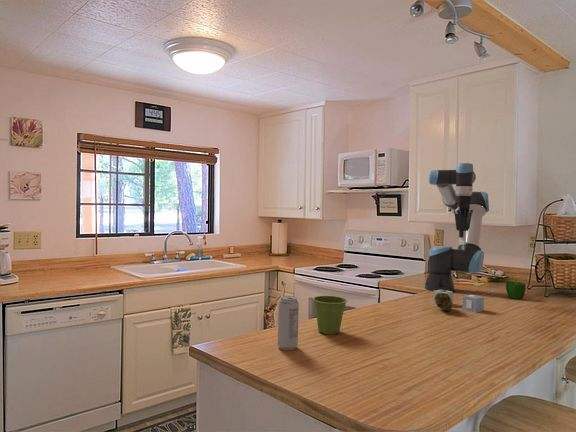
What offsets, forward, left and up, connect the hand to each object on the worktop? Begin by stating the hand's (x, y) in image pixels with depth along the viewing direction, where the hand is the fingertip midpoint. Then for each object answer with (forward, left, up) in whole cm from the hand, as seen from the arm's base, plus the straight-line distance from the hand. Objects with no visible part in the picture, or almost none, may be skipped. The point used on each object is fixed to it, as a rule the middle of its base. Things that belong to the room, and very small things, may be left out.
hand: (462, 244), depth 210 cm
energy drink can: (+15, -115, -27) cm, 119 cm away
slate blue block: (+17, -18, -27) cm, 36 cm away
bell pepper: (+14, +25, -27) cm, 39 cm away
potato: (+11, -30, -27) cm, 41 cm away
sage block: (+3, -19, -27) cm, 33 cm away
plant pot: (+9, -93, -27) cm, 97 cm away
